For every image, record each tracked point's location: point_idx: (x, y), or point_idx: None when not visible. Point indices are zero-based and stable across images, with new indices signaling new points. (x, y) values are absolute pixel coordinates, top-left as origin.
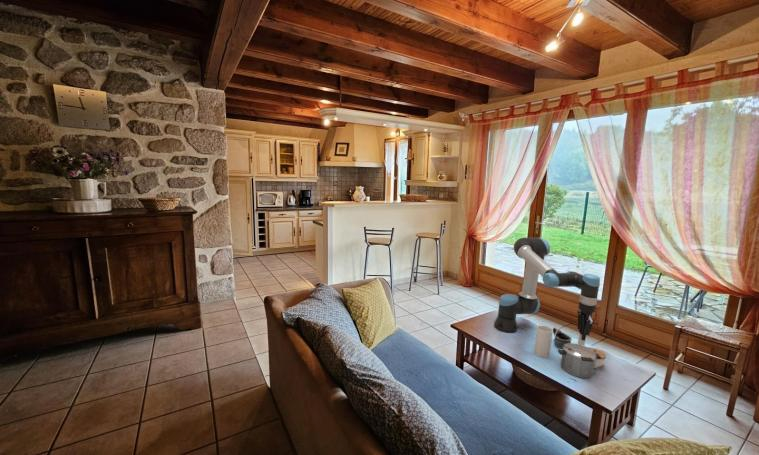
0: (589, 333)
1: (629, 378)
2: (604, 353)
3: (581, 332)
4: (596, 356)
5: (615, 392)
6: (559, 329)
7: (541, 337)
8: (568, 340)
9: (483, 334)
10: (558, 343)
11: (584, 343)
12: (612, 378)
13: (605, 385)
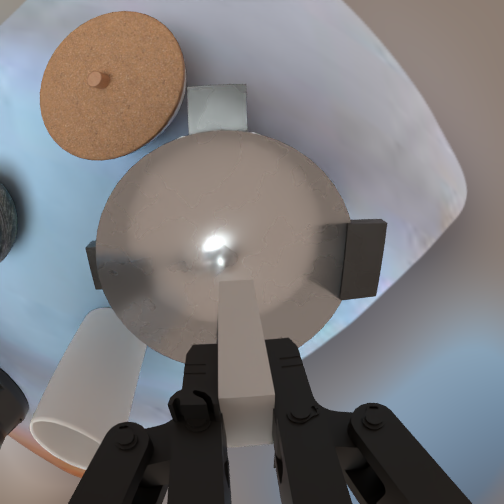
0: (411, 434)
1: None
2: (108, 14)
3: (279, 462)
4: (246, 122)
5: (394, 104)
6: None
7: None
8: None
9: None
10: (8, 251)
11: (255, 296)
12: (268, 40)
13: (348, 119)
